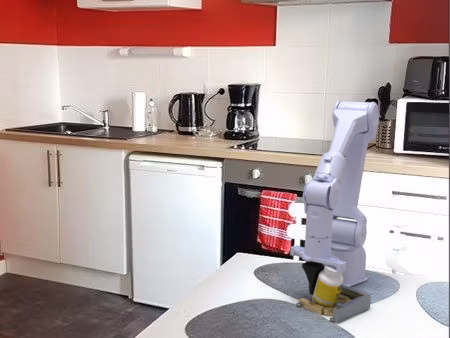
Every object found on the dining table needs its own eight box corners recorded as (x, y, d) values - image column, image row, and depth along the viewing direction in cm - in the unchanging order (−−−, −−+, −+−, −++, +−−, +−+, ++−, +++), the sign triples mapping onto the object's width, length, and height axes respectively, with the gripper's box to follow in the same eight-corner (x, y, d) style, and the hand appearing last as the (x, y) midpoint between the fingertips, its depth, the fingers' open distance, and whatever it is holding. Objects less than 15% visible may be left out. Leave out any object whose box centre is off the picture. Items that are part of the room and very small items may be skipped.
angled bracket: (327, 291, 134) (327, 278, 134) (371, 308, 125) (372, 295, 124) (291, 304, 127) (292, 291, 126) (336, 324, 117) (336, 310, 117)
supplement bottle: (335, 313, 124) (346, 276, 120) (310, 307, 124) (320, 269, 120) (336, 299, 128) (346, 262, 124) (312, 293, 129) (322, 256, 125)
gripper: (282, 230, 128) (279, 287, 130) (332, 246, 117) (328, 308, 119) (303, 225, 133) (300, 281, 135) (354, 240, 122) (349, 301, 124)
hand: (315, 293), depth 127 cm, fingers closed, pressing on supplement bottle
